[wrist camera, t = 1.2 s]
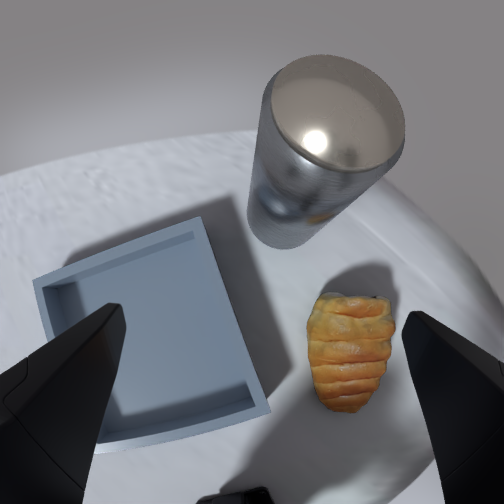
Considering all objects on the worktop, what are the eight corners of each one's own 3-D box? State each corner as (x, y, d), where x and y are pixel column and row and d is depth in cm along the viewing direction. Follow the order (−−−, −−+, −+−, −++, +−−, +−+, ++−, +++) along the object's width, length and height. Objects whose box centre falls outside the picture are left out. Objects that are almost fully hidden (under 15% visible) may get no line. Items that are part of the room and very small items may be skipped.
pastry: (375, 403, 22) (395, 417, 19) (297, 409, 22) (307, 426, 18) (384, 293, 24) (407, 291, 20) (305, 291, 24) (317, 289, 20)
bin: (266, 399, 22) (271, 412, 19) (107, 440, 21) (93, 454, 18) (204, 226, 24) (200, 215, 21) (51, 282, 22) (32, 280, 19)
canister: (328, 235, 24) (435, 157, 10) (261, 259, 24) (302, 195, 9) (302, 172, 25) (367, 45, 10) (236, 191, 24) (240, 61, 10)
